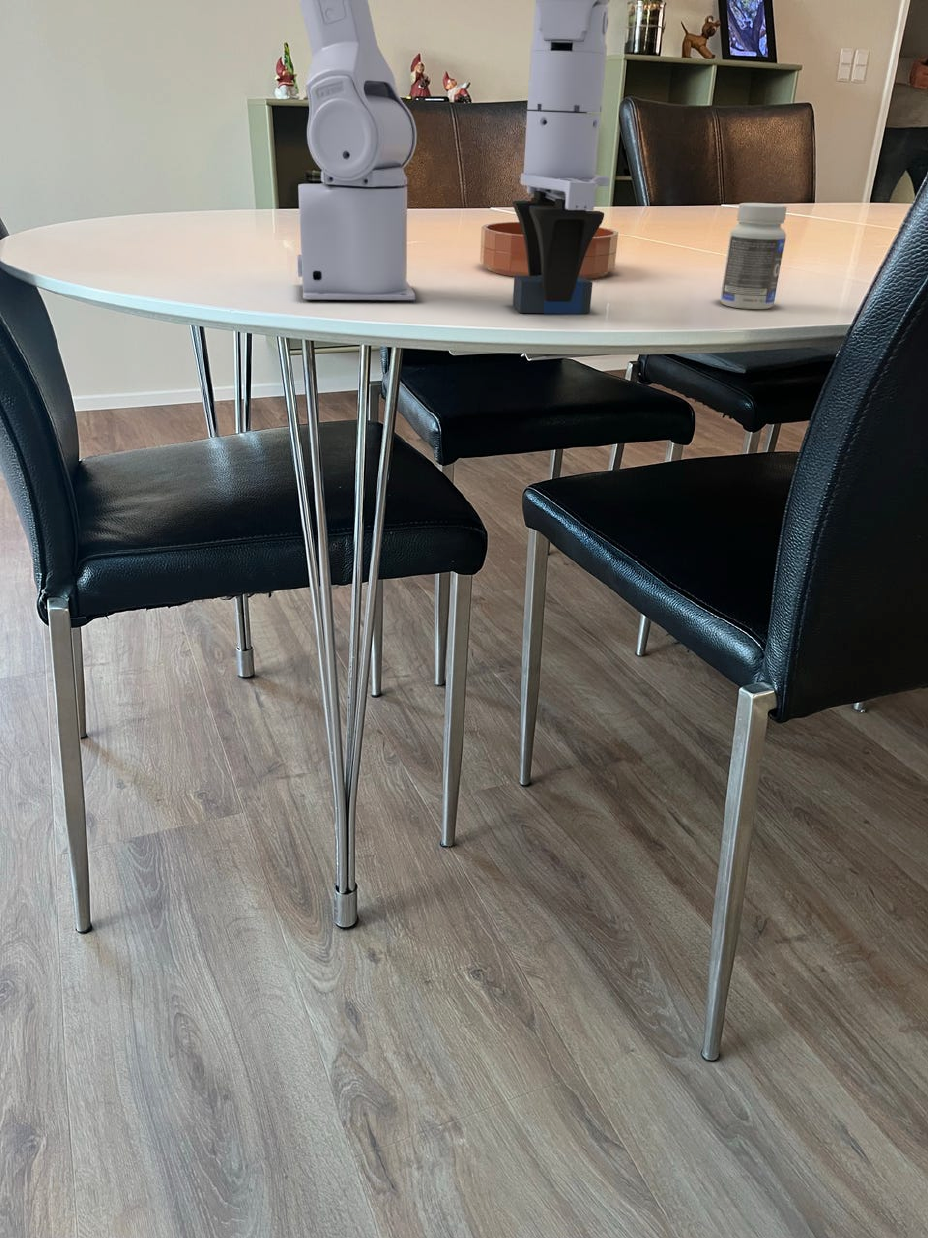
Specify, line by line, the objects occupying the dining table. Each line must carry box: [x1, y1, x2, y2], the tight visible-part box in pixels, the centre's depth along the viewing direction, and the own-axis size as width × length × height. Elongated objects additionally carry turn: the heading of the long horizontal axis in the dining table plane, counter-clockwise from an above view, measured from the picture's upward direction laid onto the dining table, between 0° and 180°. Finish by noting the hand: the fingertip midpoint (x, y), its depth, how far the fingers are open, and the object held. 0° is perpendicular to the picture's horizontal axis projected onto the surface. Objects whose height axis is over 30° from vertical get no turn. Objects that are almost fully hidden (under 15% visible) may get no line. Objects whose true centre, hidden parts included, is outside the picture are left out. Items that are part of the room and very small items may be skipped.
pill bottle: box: [720, 202, 787, 310], centre depth 85 cm, size 5×5×8 cm
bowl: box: [479, 221, 619, 280], centre depth 100 cm, size 14×14×4 cm
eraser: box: [512, 275, 593, 315], centre depth 80 cm, size 6×3×3 cm, turn 99°
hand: (550, 295), depth 80 cm, fingers open, 4 cm apart
